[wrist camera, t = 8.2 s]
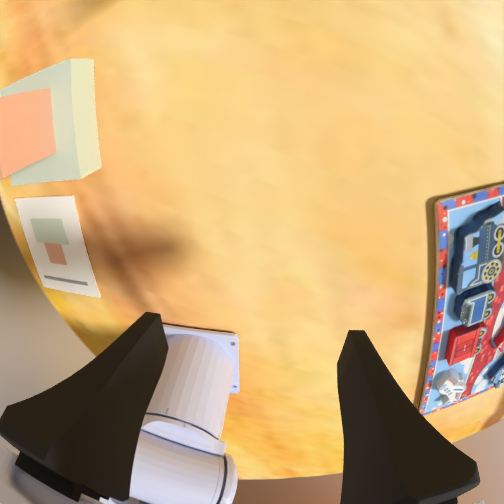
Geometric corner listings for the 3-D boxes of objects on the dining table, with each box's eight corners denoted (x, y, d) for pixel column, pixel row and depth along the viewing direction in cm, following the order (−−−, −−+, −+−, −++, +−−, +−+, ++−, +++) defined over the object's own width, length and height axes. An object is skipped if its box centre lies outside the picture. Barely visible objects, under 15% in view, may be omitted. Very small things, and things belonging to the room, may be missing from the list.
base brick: (104, 165, 19) (81, 178, 16) (35, 173, 19) (12, 186, 17) (97, 59, 14) (70, 58, 12) (25, 85, 15) (0, 90, 13)
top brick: (56, 152, 15) (3, 178, 11) (18, 160, 16) (-30, 185, 11) (50, 87, 13) (-7, 98, 9) (11, 103, 13) (-40, 118, 9)
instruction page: (101, 296, 25) (99, 298, 24) (44, 285, 25) (43, 287, 25) (73, 195, 19) (71, 196, 19) (16, 198, 20) (14, 199, 20)
